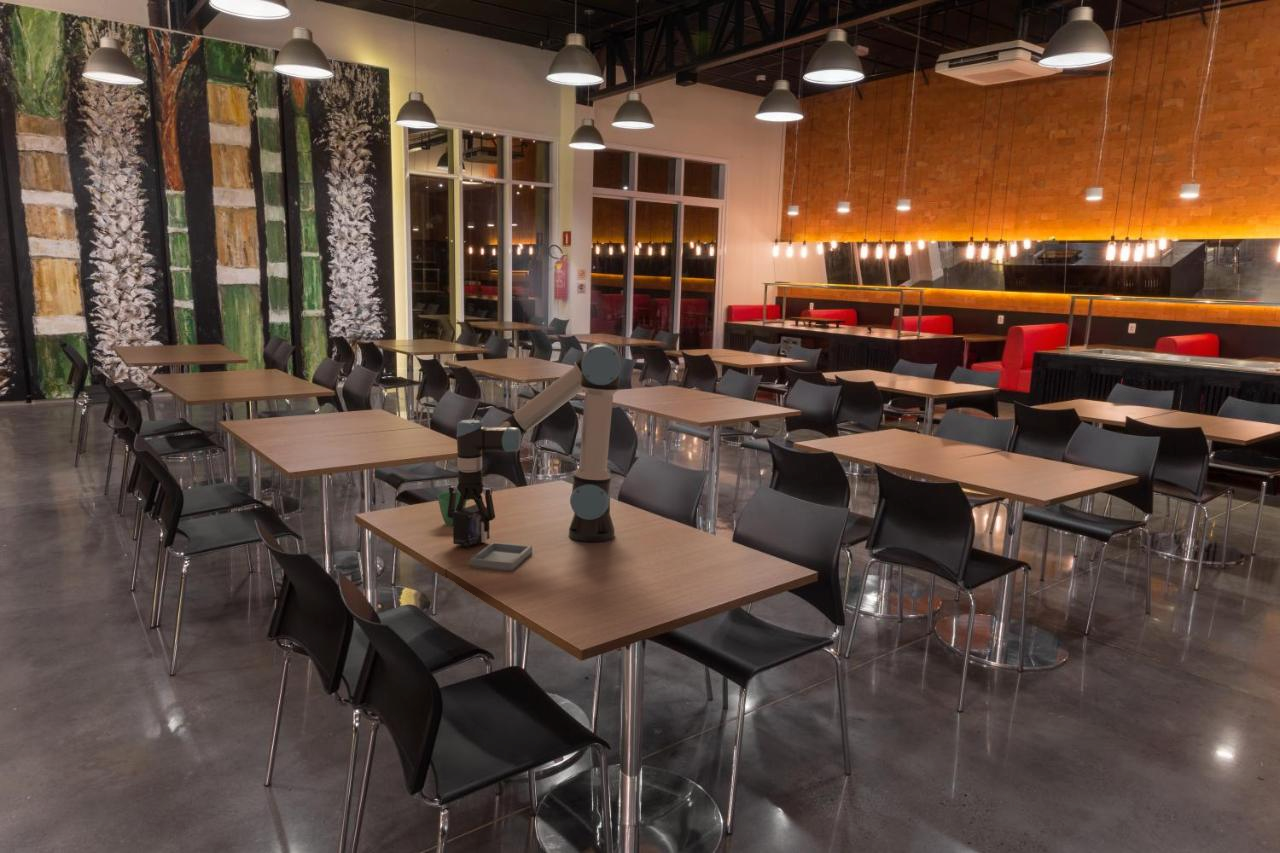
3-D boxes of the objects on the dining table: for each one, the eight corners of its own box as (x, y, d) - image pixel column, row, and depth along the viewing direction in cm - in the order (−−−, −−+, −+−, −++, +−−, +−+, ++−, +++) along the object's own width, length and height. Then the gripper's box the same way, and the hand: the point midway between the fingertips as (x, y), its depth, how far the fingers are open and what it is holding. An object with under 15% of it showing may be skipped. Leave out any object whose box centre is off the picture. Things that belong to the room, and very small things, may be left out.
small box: (468, 547, 260) (466, 514, 258) (452, 544, 263) (450, 511, 262) (491, 538, 269) (489, 506, 267) (475, 535, 272) (474, 504, 271)
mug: (444, 529, 281) (444, 500, 280) (433, 522, 289) (433, 494, 287) (485, 523, 289) (485, 495, 288) (473, 517, 297) (473, 489, 296)
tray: (532, 553, 260) (532, 545, 259) (512, 571, 243) (512, 563, 243) (492, 549, 262) (492, 541, 262) (470, 567, 246) (470, 558, 245)
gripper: (505, 468, 264) (506, 539, 268) (444, 465, 268) (446, 534, 272) (496, 474, 257) (498, 546, 260) (434, 470, 261) (436, 541, 265)
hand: (471, 540), depth 266 cm, fingers closed on small box, 8 cm apart
